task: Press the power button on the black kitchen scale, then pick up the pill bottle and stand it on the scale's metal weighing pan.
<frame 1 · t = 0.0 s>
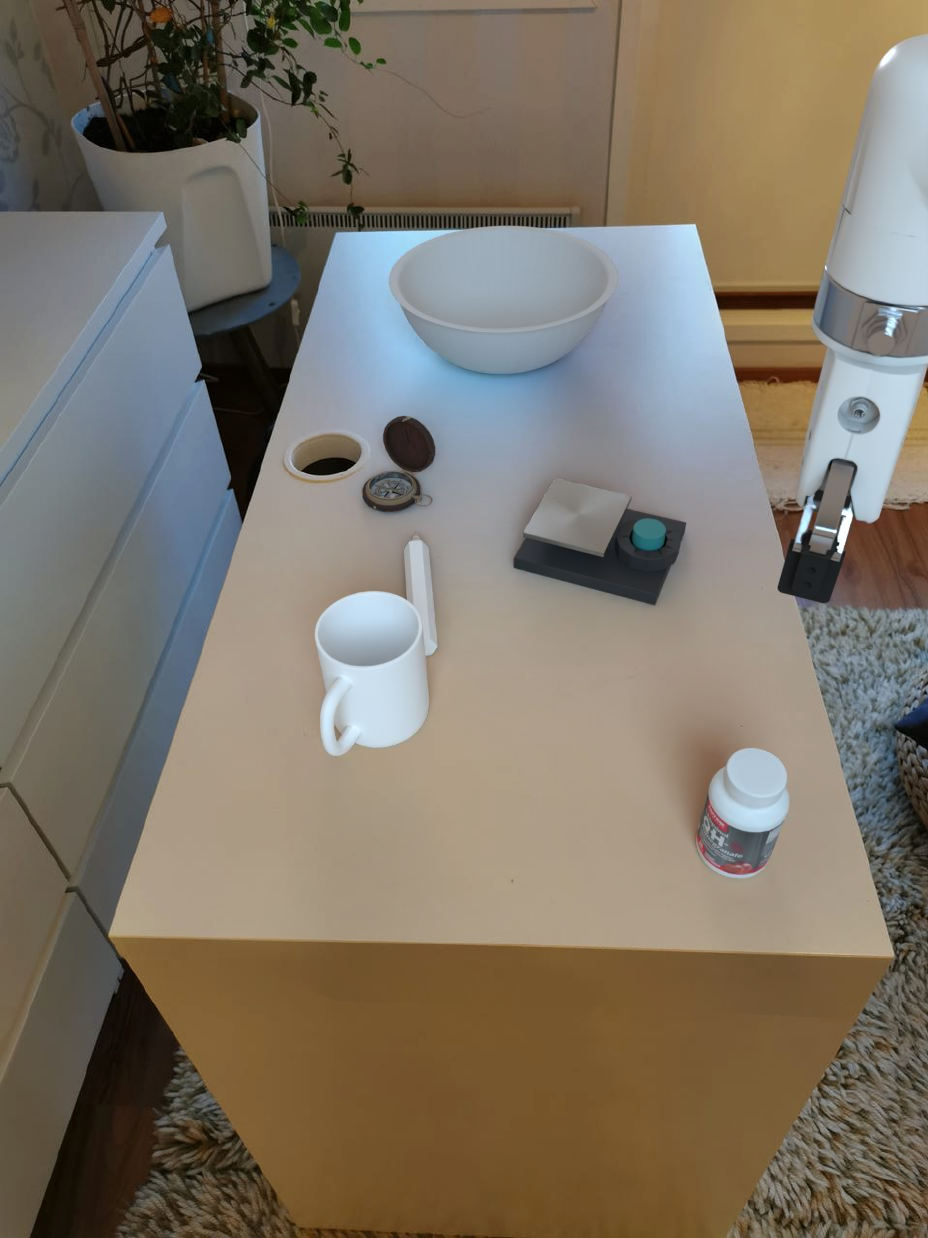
hand: (815, 547, 63), 20 cm above the cabinet, tool pointing down, fingers open, 9 cm apart
scale: (600, 550, 93), on the cabinet
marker: (419, 594, 90), on the cabinet
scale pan: (578, 515, 92), point 4 cm above the cabinet, slide at 0.0 cm
pill bottle: (731, 849, 70), on the cabinet
cup: (370, 728, 79), on the cabinet
bowl: (503, 351, 121), on the cabinet
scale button: (648, 534, 90), point 3 cm above the cabinet, slide at 0.1 cm
compass: (403, 495, 101), on the cabinet
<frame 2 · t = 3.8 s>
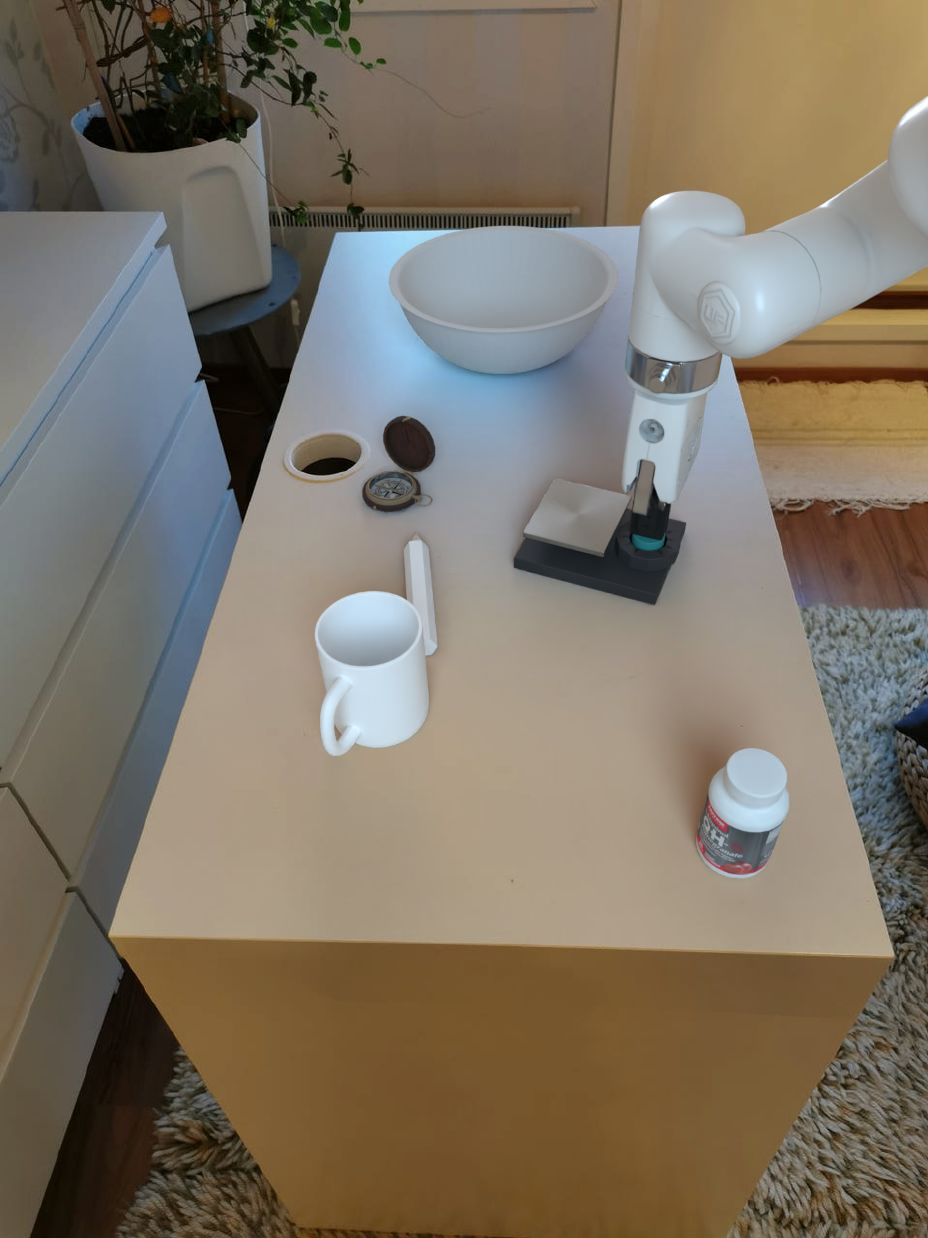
hand: (647, 531, 90), 4 cm above the cabinet, tool pointing down, fingers closed
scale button: (648, 539, 90), point 3 cm above the cabinet, slide at -0.4 cm, touching gripper
everything else where it was.
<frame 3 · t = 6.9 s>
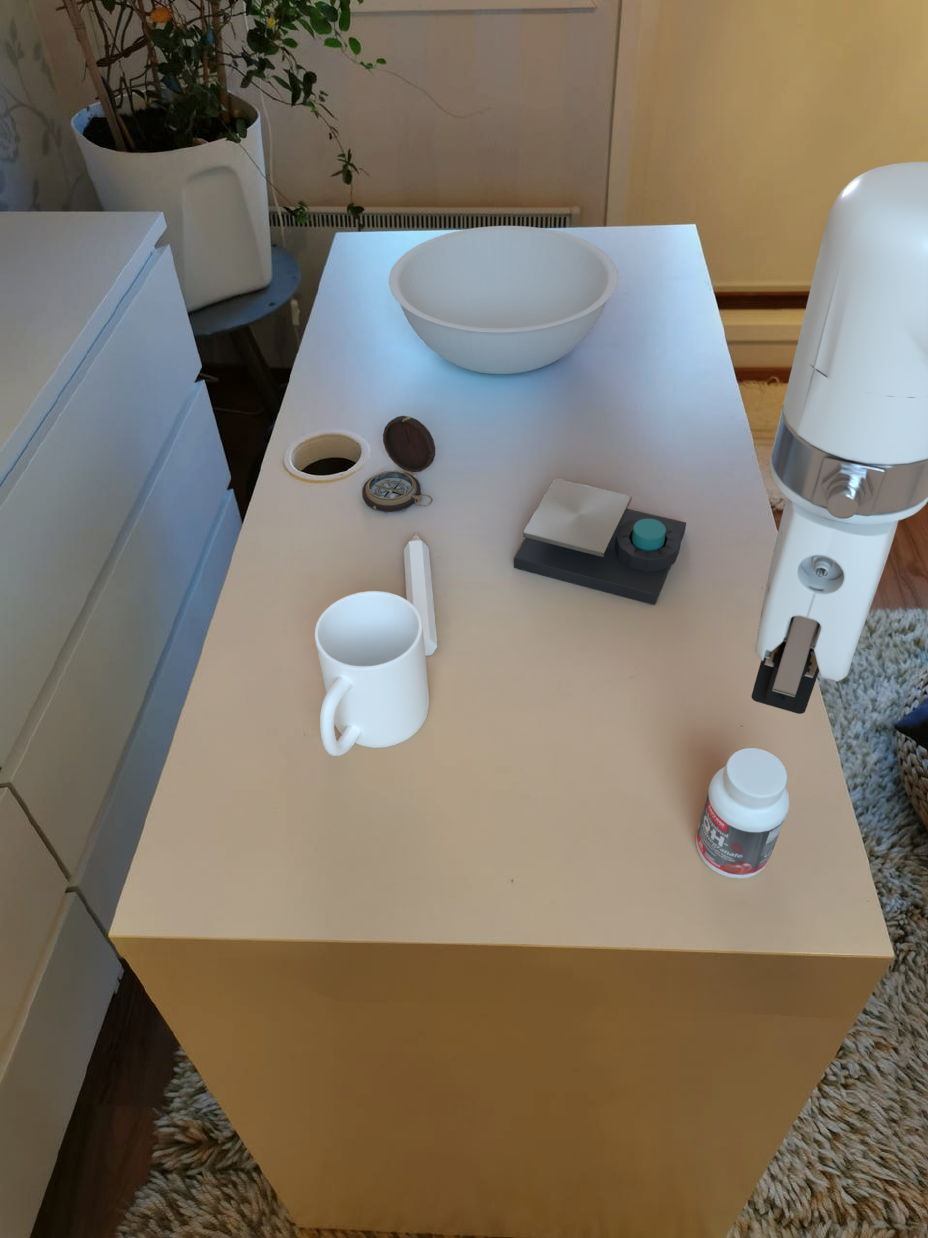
hand: (779, 697, 58), 17 cm above the cabinet, tool pointing down, fingers closed
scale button: (648, 534, 90), point 3 cm above the cabinet, slide at 0.1 cm
everything else where it was.
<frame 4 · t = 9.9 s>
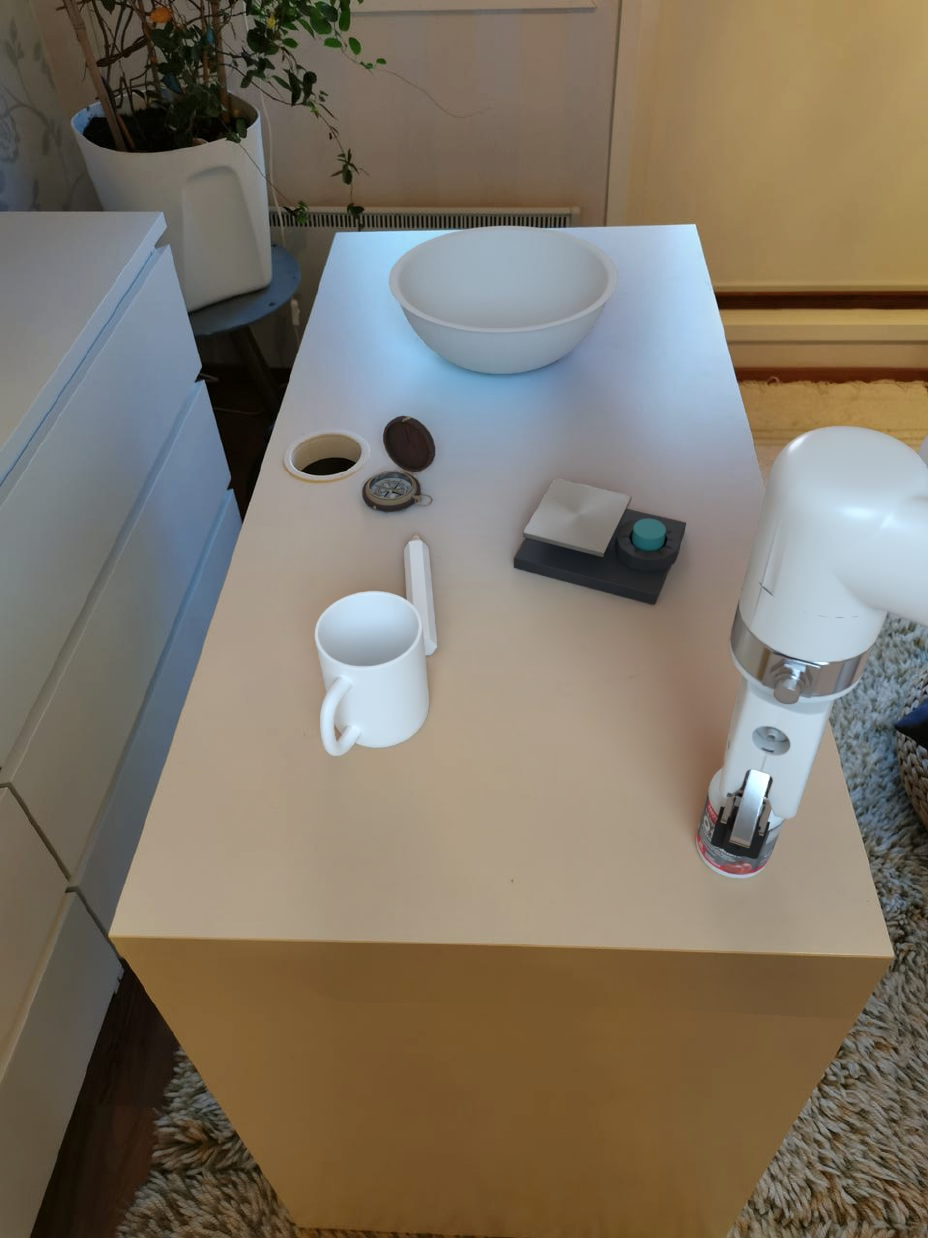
hand: (744, 811, 67), 5 cm above the cabinet, tool pointing down, fingers closed on pill bottle, 5 cm apart
pill bottle: (731, 849, 70), on the cabinet, touching gripper
everything else where it was.
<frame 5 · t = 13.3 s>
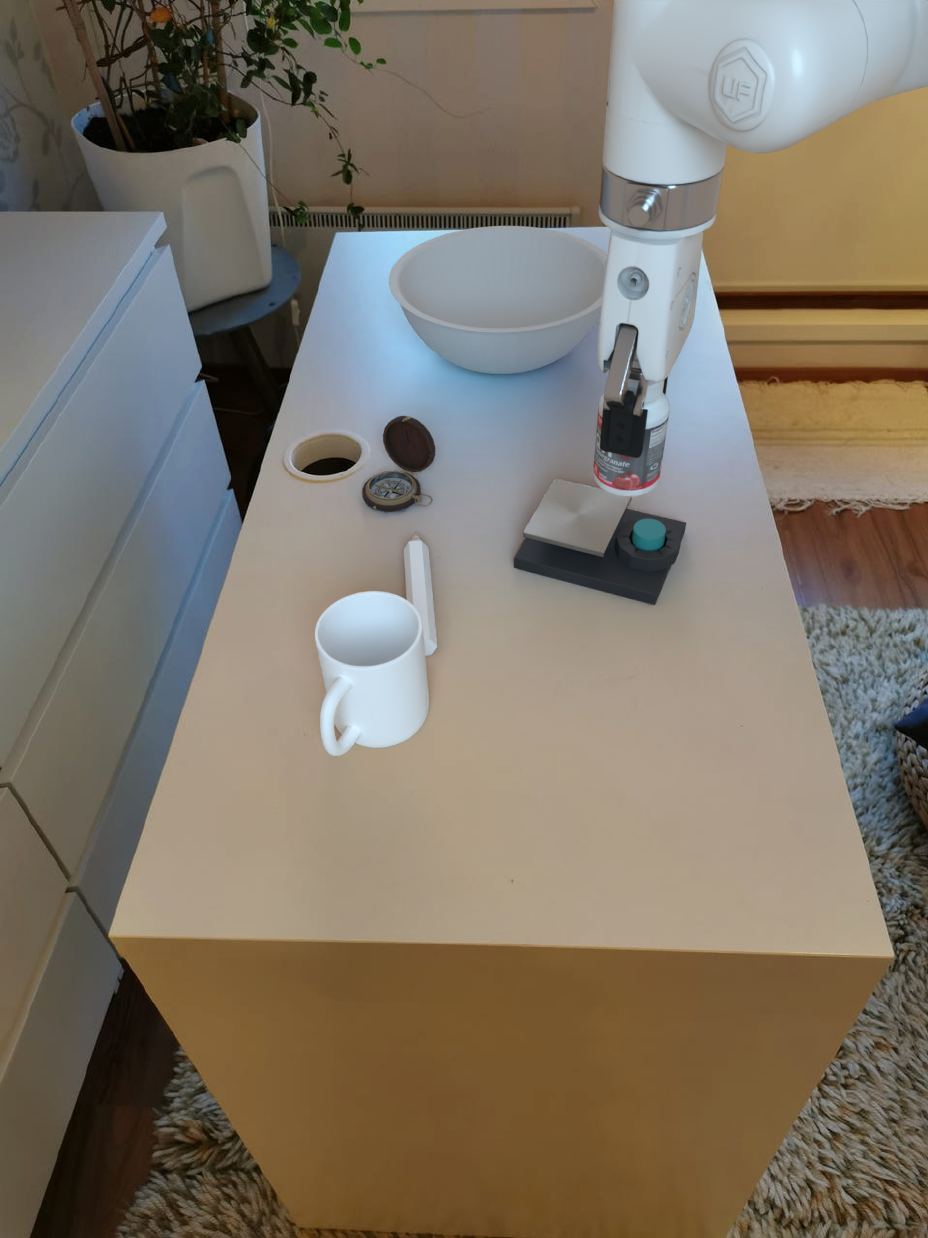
hand: (632, 428, 74), 20 cm above the cabinet, tool pointing down, fingers closed on pill bottle, 5 cm apart
pill bottle: (625, 480, 77), point 15 cm above the cabinet, touching gripper
everything else where it was.
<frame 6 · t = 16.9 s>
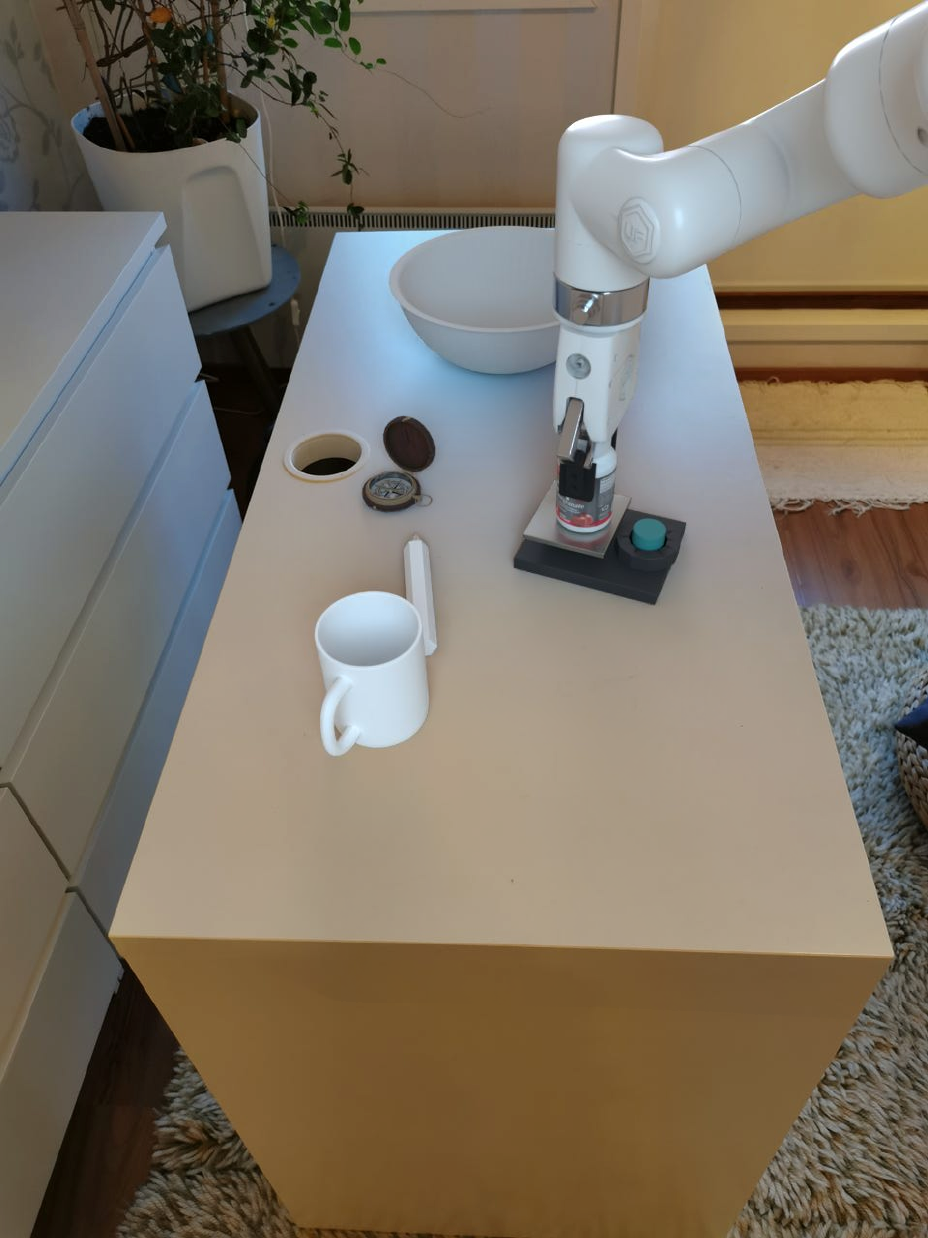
hand: (587, 475, 88), 9 cm above the cabinet, tool pointing down, fingers closed on pill bottle, 5 cm apart
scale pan: (578, 517, 92), point 3 cm above the cabinet, slide at -0.2 cm, touching pill bottle
pill bottle: (583, 518, 91), point 4 cm above the cabinet, touching gripper, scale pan
everything else where it was.
when the fingers open (9 cm above the cabinet, at t = 16.9 s): pill bottle stays where it is, resting on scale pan.
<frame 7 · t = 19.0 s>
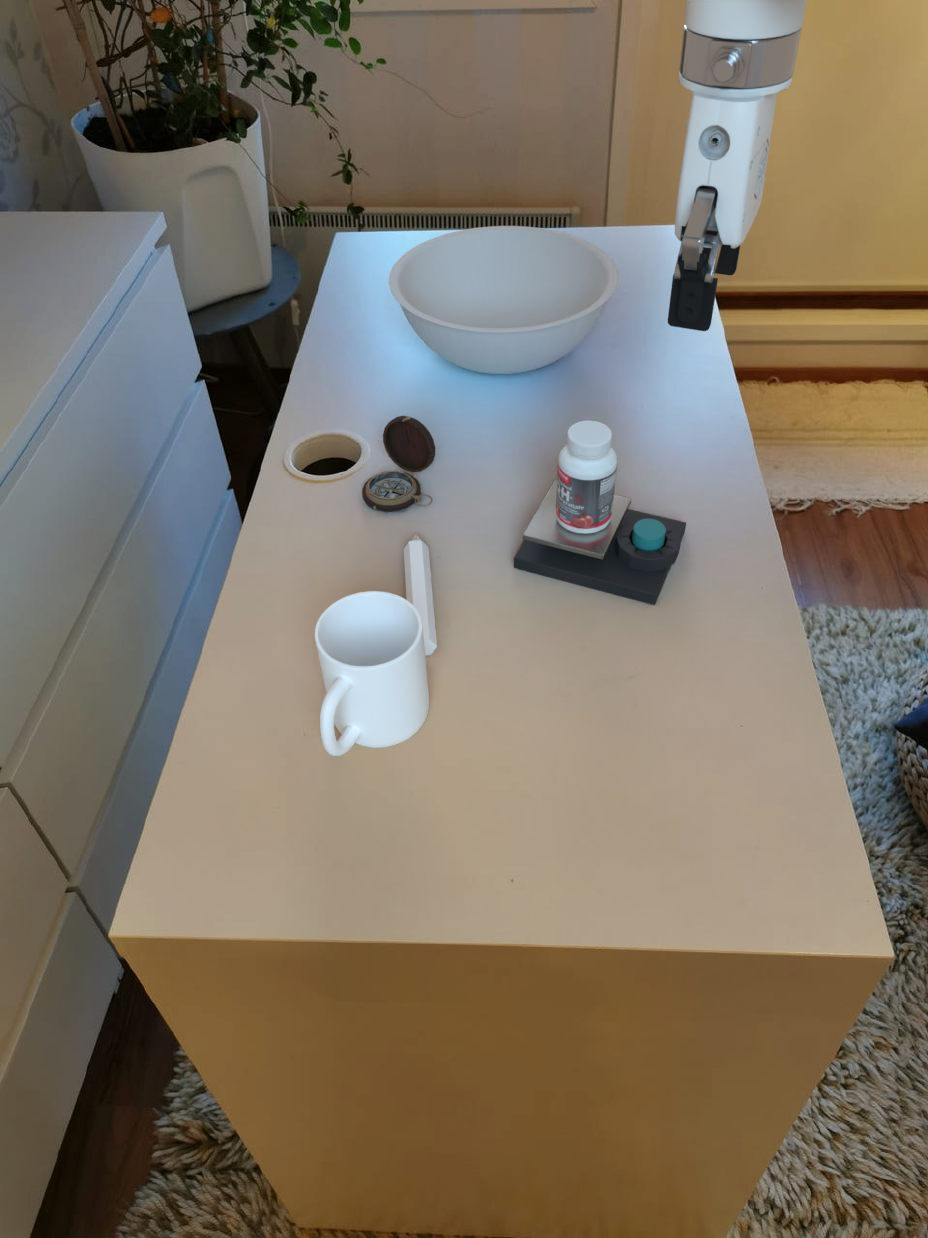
hand: (702, 298, 76), 26 cm above the cabinet, tool pointing down, fingers open, 9 cm apart
pill bottle: (583, 519, 92), point 3 cm above the cabinet, touching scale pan
everything else where it was.
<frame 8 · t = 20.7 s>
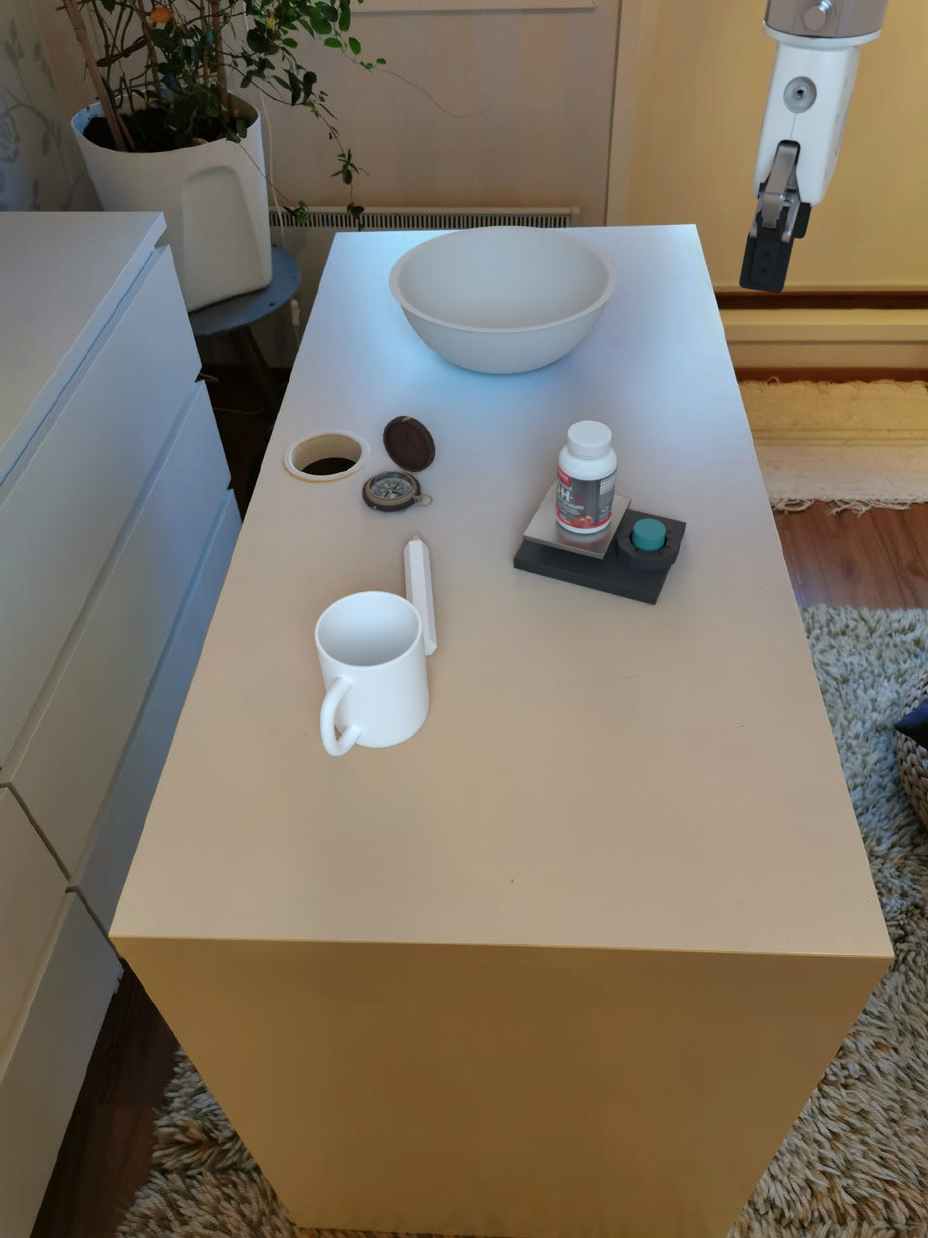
hand: (772, 260, 74), 28 cm above the cabinet, tool pointing down, fingers open, 9 cm apart
nothing on the cabinet moved.
at the end: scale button pushed in 0.9 cm at the most during the clip, back to where it started at the end; pill bottle inside the target area on the scale (0.5 cm from its centre), point 3.4 cm above the scale's base; pill bottle tilted 0° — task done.
